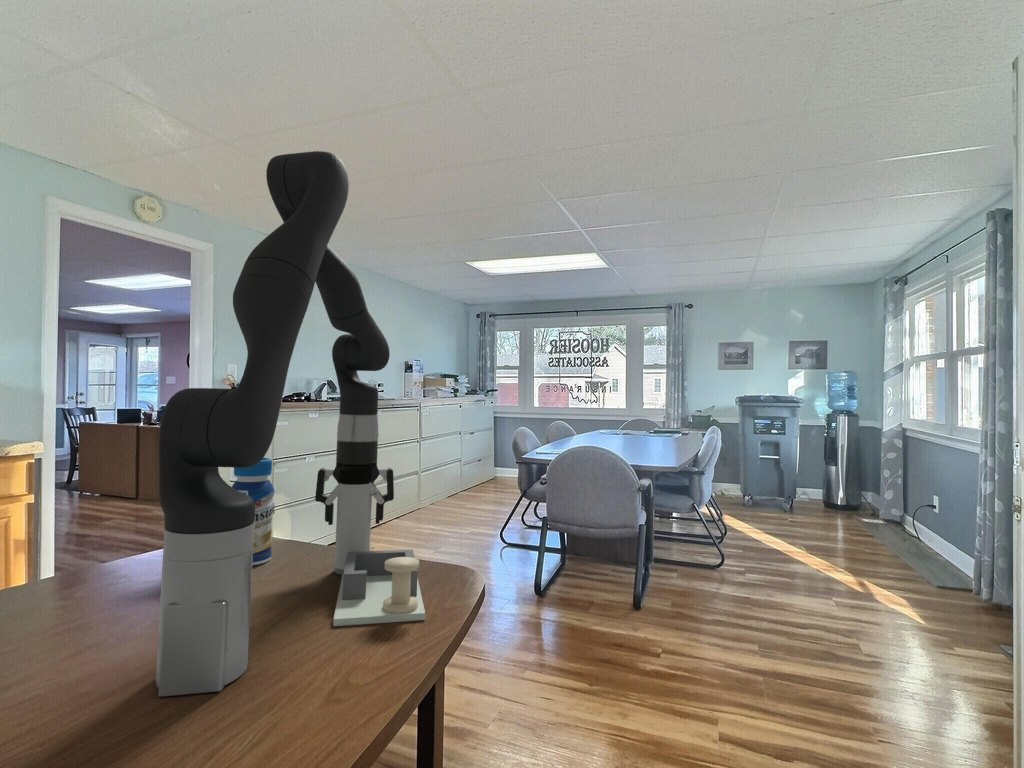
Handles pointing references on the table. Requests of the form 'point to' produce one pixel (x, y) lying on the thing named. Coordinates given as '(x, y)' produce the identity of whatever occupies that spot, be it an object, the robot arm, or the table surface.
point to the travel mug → (352, 515)
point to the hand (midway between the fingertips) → (354, 523)
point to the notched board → (379, 589)
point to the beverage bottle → (259, 505)
